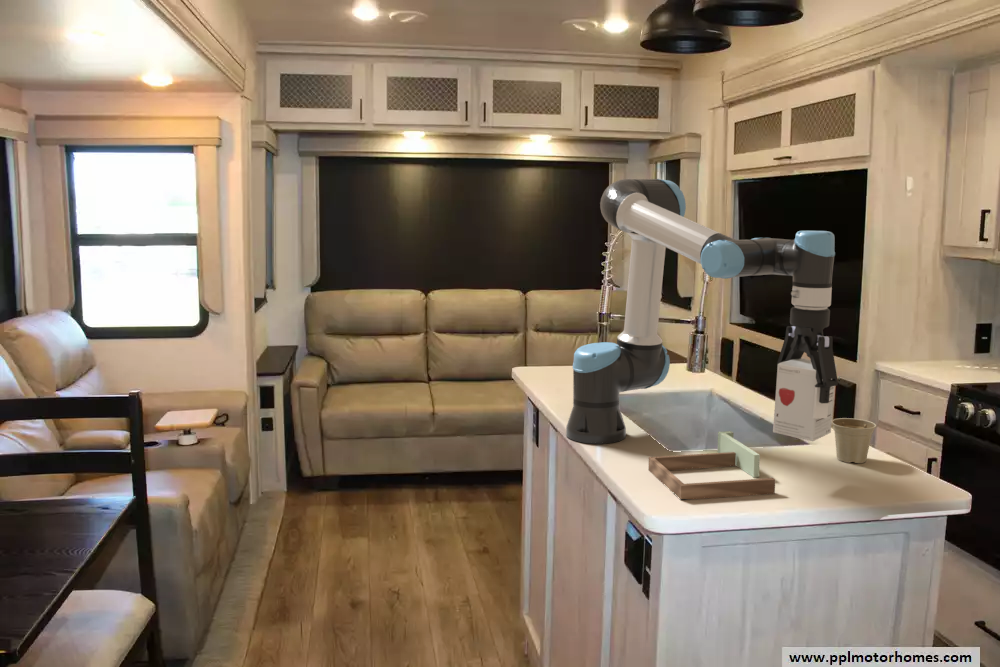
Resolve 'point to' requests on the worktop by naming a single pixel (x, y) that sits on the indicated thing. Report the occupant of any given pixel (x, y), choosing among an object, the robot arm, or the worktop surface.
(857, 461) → the flower pot
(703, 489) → the housing
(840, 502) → the worktop surface
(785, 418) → the supplement box
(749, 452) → the green piece
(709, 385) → the worktop surface
